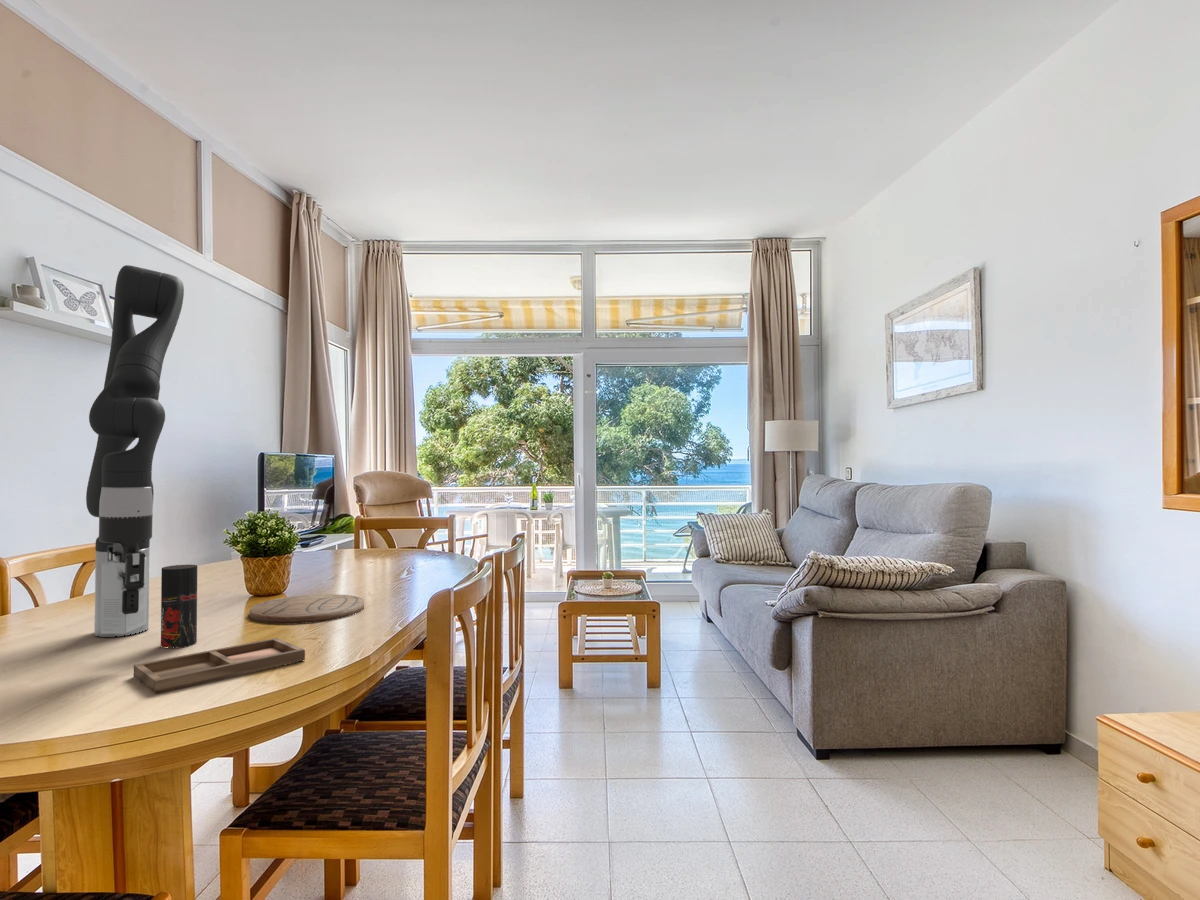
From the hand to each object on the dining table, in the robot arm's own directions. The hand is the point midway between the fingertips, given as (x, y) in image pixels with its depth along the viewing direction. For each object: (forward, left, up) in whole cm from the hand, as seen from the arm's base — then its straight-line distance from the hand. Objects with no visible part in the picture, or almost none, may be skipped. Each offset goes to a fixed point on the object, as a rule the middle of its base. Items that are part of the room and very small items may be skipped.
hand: (124, 609), depth 116 cm
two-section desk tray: (+12, +11, -10) cm, 20 cm away
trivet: (-21, +42, -11) cm, 48 cm away
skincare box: (0, 0, -4) cm, 4 cm away
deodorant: (-11, +11, -10) cm, 19 cm away
